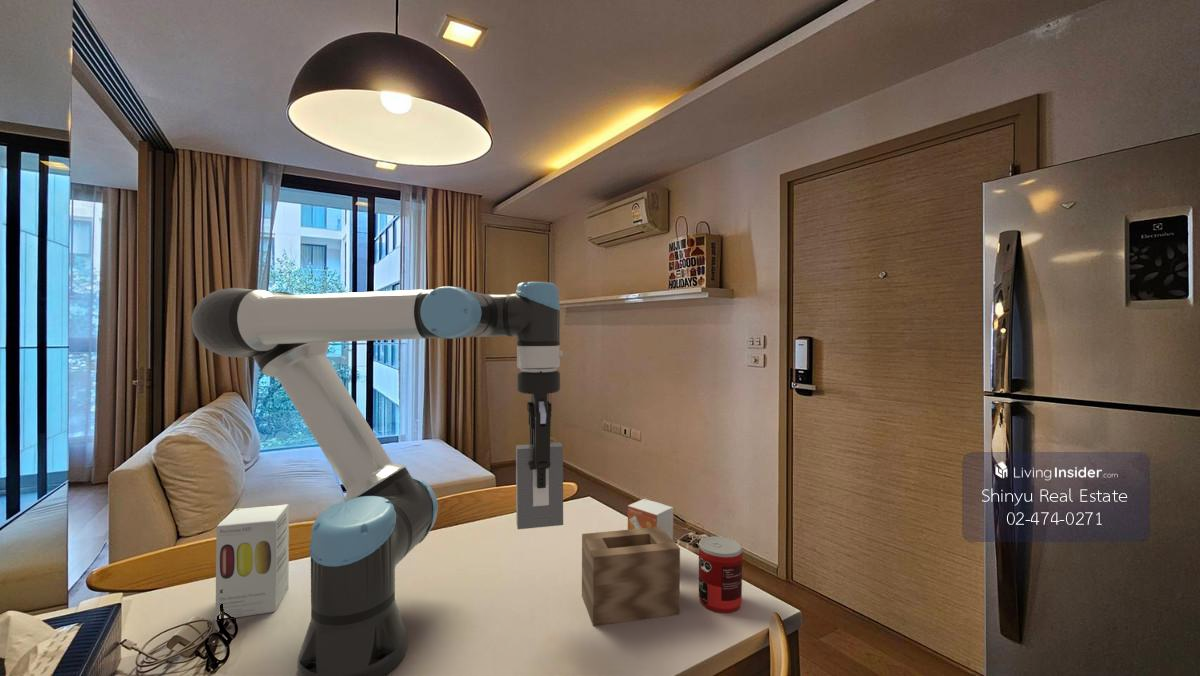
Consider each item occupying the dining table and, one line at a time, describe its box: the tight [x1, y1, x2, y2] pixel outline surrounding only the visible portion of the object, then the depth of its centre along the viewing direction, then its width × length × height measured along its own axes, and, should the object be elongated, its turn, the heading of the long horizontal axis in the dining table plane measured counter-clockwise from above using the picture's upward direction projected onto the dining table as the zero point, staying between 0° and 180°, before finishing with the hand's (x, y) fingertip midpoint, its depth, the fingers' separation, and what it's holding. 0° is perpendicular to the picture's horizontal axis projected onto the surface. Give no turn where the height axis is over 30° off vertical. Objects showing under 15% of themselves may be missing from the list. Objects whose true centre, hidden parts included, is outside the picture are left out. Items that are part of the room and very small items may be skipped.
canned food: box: [698, 535, 743, 614], centre depth 93 cm, size 8×8×11 cm
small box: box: [627, 498, 674, 541], centre depth 108 cm, size 8×6×13 cm
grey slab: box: [515, 442, 564, 530], centre depth 88 cm, size 8×3×14 cm, turn 103°
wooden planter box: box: [581, 527, 681, 627], centre depth 92 cm, size 16×10×12 cm, turn 103°
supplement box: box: [214, 503, 290, 621], centre depth 92 cm, size 10×9×17 cm
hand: (539, 501), depth 88 cm, fingers closed on grey slab, 3 cm apart
